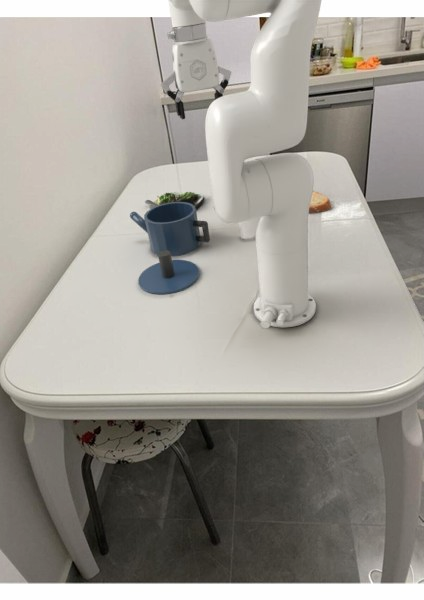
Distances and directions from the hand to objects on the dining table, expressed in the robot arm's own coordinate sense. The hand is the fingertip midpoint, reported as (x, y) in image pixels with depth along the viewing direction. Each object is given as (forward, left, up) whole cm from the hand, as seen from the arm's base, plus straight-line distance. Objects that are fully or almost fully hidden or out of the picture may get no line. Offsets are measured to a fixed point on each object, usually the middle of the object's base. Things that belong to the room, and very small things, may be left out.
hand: (201, 114), depth 109 cm
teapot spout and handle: (-12, +8, -29) cm, 33 cm away
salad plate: (+13, +19, -31) cm, 39 cm away
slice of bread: (+20, -19, -31) cm, 42 cm away
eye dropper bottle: (-4, -12, -31) cm, 34 cm away
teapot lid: (-28, +1, -31) cm, 42 cm away
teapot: (-12, +7, -31) cm, 34 cm away
